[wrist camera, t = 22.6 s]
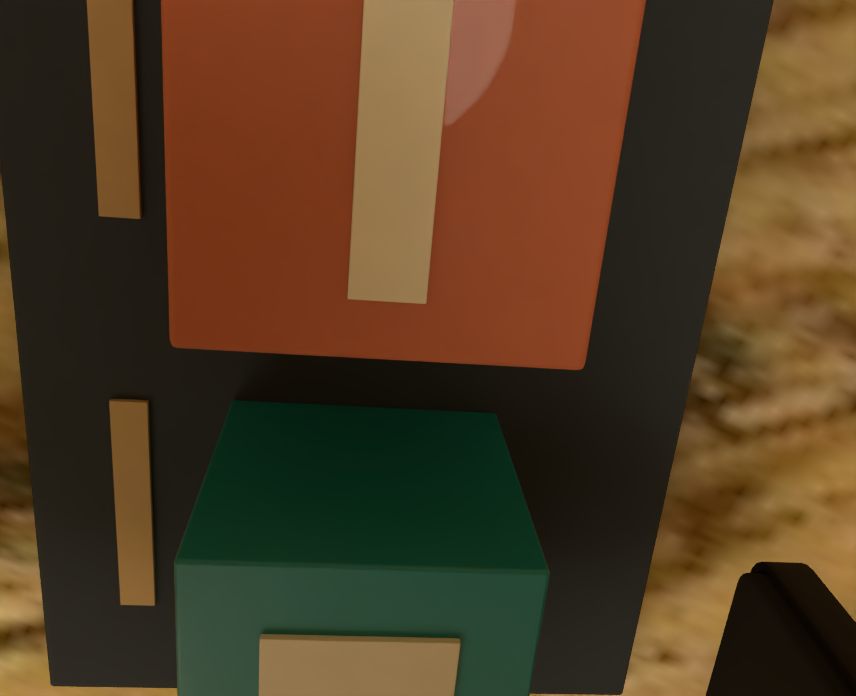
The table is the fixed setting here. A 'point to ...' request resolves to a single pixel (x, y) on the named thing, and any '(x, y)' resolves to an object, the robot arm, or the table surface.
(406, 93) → the orange cube
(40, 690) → the table surface
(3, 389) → the table surface
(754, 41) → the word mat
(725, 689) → the robot arm
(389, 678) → the green cube
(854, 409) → the table surface
